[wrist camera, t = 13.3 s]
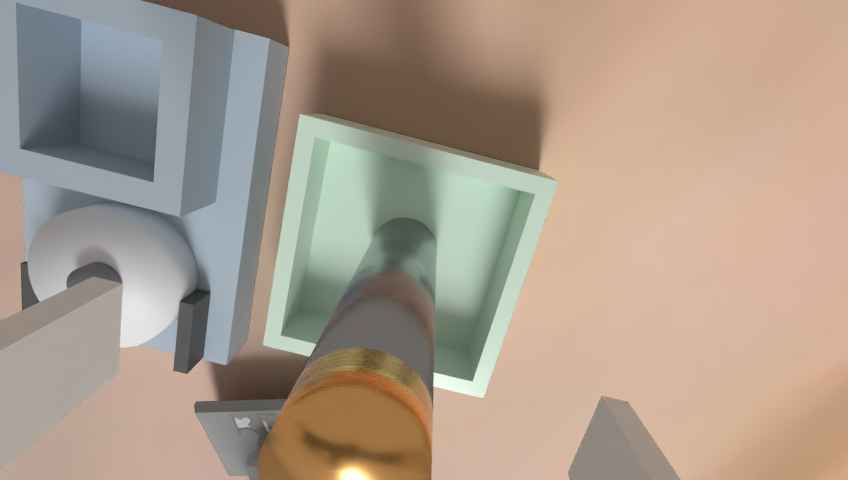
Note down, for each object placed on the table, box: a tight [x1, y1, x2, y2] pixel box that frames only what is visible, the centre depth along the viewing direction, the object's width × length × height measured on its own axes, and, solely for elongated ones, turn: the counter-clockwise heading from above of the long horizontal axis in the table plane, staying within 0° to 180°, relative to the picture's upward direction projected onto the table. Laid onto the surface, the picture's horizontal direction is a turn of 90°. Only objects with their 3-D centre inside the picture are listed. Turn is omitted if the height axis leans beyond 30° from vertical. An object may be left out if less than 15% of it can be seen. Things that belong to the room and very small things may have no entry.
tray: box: [263, 114, 559, 398], centre depth 22 cm, size 12×12×4 cm
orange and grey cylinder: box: [258, 218, 437, 480], centre depth 16 cm, size 4×4×15 cm
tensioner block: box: [0, 0, 289, 374], centre depth 21 cm, size 17×11×6 cm, turn 166°
